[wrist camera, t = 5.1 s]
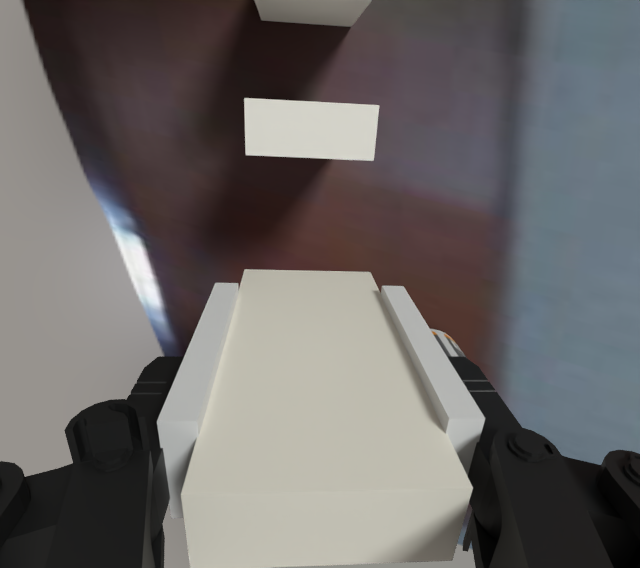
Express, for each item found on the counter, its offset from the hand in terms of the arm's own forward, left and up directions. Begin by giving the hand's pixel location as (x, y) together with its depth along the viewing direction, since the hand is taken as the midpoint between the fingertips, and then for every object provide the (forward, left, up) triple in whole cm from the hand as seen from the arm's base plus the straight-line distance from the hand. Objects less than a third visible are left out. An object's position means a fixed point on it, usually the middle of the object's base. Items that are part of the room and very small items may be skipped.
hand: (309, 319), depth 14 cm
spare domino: (0, 0, -2) cm, 2 cm away
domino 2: (-6, 0, -14) cm, 15 cm away
